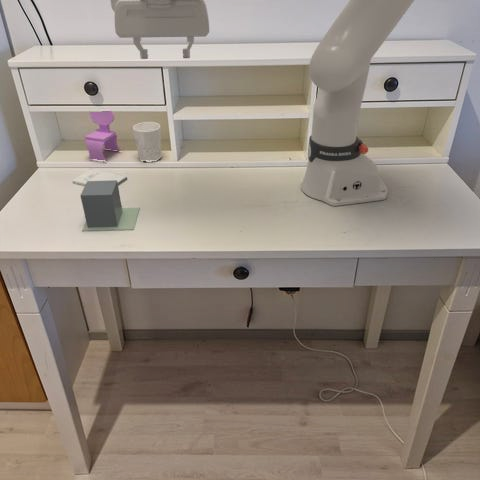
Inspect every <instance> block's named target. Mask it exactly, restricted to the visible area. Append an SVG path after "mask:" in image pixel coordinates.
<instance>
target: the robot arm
mask: <svg viewBox="0 0 480 480" xmlns="http://www.w3.org/2000/svg"><path fill="white" fill-rule="evenodd" d="M205 2H206V1H204V0H110V5H111V9H112V10H113V12H114V31H115V33H116V35H117V36H118V38H121V39H125V38H127V39H128V38H129V39H131V38H132V41H133V45H135V47H136V48H137V50H138V51H139V55H140V59H141V60H146V59H149V54H148V53H149V52H148V49H147V48H144V47H143V44H142V43H141V42H142V39H143V38H186V40H187V41H186V42H187V43H188V44H187V46H186V48H183V49H182V54H183V55H182V58H183V59H191V58H190V57H191V51H190V50H191V48H192V46H193V44H194V43H195V41H194V40H195V38H196V37H197V38H200V37H202V38H206V37H207V36H208V35H209V33H210V20H209V14H208V8H207V4H206V3H205ZM414 2H415V0H349V1H348V2H347V4H346V5H345V6H344V8H343V9H342V11H341V12H340V14H339V15H338V16H337V18H336V19H335V21H334V22H333V23H332V24H331V26H330V28H329V29H328V31H327V32H326V34H325V35H324V36H323V38H322V39H321V40H320V42H319V43H318V45H317V46H316V49H315V50H314V51H313V54H312V56H311V57H310V61H309V65H308V71H309V72H308V73H309V77H310V80H311V81H312V83H313V84H314V85H315V87H317V88H318V90H317V95H316V98H315V102H314V104H313V113H312V114H313V115H312V125H311V135H310V136H309V139H308V144H307V145H308V146H307V159H308V161H307V164H306V165H307V167H306V169H305V174H304V177H303V178H302V179H303V180H302V182H301V185H300V189H301V191H302V192H303V193H304V194H306V195H307V196H308V197H310V198H313V199H315V200H319V201H320V202H321V201H322V202H323V203H325V204H327V205H330V206H333V207H338V206H344V205H345V206H346V205H353V204H354V205H355V204H361V203H369V202H375V201H376V202H377V201H383V200H386V199H387V198H388V187H387V185H386V183H385V182H384V181H383V179H381V173H380V169H379V167H378V166H377V164H376V163H375V162H374V161H373V160H372V159H371V158H369V157H368V156H366V154H367V153H368V152H369V148H368V146H367V144H365V143H364V142H363V140H361V139H359V138H360V137H358V136H357V133H358V127H359V126H358V125H359V122H360V121H359V118H360V115H361V114H360V113H361V107H362V102H363V99H364V94H365V89H366V86H367V82H368V81H367V80H368V77H369V71H370V66H371V60H372V59H373V57H374V56H375V54H376V53H377V51H379V49H380V48H381V46H382V45H383V44H384V42H385V41H386V40H387V38H388V37H389V36H390V34H392V32H393V31H394V29H395V27H397V25H398V24H399V23H400V21H401V20H402V18H403V16H404V15H405V14H406V12H407V11H408V10H409V8H410V7H411V6H412V4H413V3H414Z"/></svg>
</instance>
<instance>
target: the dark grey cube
mask: <svg viewBox="0 0 480 480" xmlns="http://www.w3.org/2000/svg"><path fill="white" fill-rule="evenodd" d="M80 200H81V205H82V208H83V209H82V210H83V213H84V217H85V223H87V227H88V228H92V227H118V224H119V221H120V218H121V215H122V208H123V207H122V206H123V205H122V201H121V194H120V189H119V186H118V183H117V180H111V181H87V183H86V185H85V186H83V189H82V191H81V193H80Z"/></svg>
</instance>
